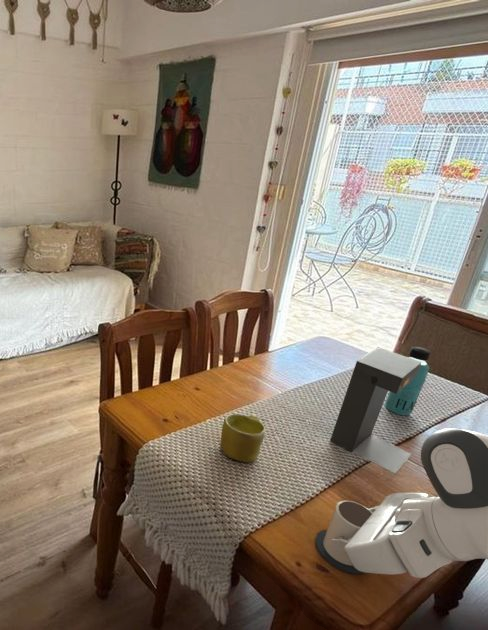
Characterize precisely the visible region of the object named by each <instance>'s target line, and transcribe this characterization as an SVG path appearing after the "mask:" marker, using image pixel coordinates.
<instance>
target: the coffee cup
mask: <svg viewBox="0 0 488 630" xmlns="http://www.w3.org/2000/svg"><path fill="white" fill-rule="evenodd" d="M369 509H370V508H368V507H366V506H364V505H363V504H361V503H359V502H356V501H353V500H340V501H338V502H337V503H336V506H335V508H334V510H333V513H332V516H331V518H330V521H329V523H328V526H327V529H326V530H327V532H326V534H325V537H324V540H323V545H324V548H325V549H326V551H327V552H328V553H329V555H330V556H332V557H333V558H334V559H335V560H337V561H339V562H341V563H343V564H346V565H351V566H353V565H352V563H351V562H350V560H349V558H348V556H347V554H346V552H345V551H344V550H336V549H335V548H334V546H333V544H332V543H331V541H332V539H333V538H334V537H335V536H344V538H345V540H349V539H350V538H352V537H353V536H354V535H355V534H356V533H357V532H358V530H359V529H360V528H361V527H362V526H363V524H364V523H365V522H366V521H367V520H368V518H369V517H370V516H371V515H372V514H373V513H372V512H371V511H370V510H369Z"/></svg>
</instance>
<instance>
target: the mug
mask: <svg viewBox="0 0 488 630" xmlns="http://www.w3.org/2000/svg"><path fill="white" fill-rule="evenodd" d="M221 427H222V428H221V433H220V435H221V436H220V448H221V451H222V453H224V455H226V456H227V457H228V458H230V459H232V460H235V461H238V462H242V463H243V462H244V463H253V462H254V461H256V460H257V459H258V457H259V455H260V451H261V447H262V444H263V441H264V439H265V436H266V427H265V425H264V424H263V422H261V421H260V417H259V416H258V414H257V415H256V414H254V413H252V414H250V415H246V414H245V415H244V414H240V413H232V414H228V415H225V417H224V419H223V423H222V426H221Z"/></svg>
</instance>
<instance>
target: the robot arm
mask: <svg viewBox="0 0 488 630" xmlns="http://www.w3.org/2000/svg"><path fill="white" fill-rule="evenodd" d="M420 460H421V461H420V462H421V464H422V467H423V469H424V472H425V473H426V476H427V478H428V480H429V482H430V484H431V485H432V487H433V489H434V491H435V493H436V494H437V496H430V495H429V494H427V493H425V492H395V493H391V494H388V495H387V496H386V497H385V498H384V499H383V501H382V502H381V503H380V504H379V505H375V506H373V507H371V508H368V509H369V510H370V511H371V512H372V513H373V514H372V515H371V516H370V517H369V518H368V520H367V521H366V522H365V523H364V524H363V526H362V527H361V528H360V529H359V530H358V532H357V533H356V534H355V535H354V536H353V537H352V538H350V539H349V540H345V538H344V536H335V537H334V538H333V539H332V541H331V543H332V544H333V546H334V548H335V549H336V550H344V551H345V552H346V554H347V556H348V558H349V560H350V562H351V563H352V565H353V566H354V567H355V568H356V569H357V570H359V571H361V572H366V573H365V574H367V573H368V574H375V575H376V574H378V575H391V576H393V575H394V576H395V575H403V574H405V573H407V572H408V573H409V574H410V576H411V577H412V578H417V579H425V578H427V577H428V576H430V575H431V574H433V573H434V572H436V571H437V570H439V569H440V568H442V567H444V566H446V565H450V564H452V562H454V561H456V562H469V561H473V560H478V559H484V560H488V434H484V433H481V432H478V431H477V432H476V431H471V430H466V429H460V428H455V427H454V428H452V427H451V428H443V429H439V430H437V431H434V432H433V433H430V434H429V436H428V437H427V438H425V440H424V442H423V444H422V446H421V449H420Z"/></svg>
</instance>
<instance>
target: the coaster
mask: <svg viewBox="0 0 488 630" xmlns="http://www.w3.org/2000/svg"><path fill="white" fill-rule="evenodd" d="M326 532H327V529H323V530H321V531H319V532H318V533H317V534H316V535H315V540H314V541H315V542H314V544H315V547H316V550H317V551H318V553H319V554H320V556H321V557H322V558H323V559H324V561H326V562H327V563H328V564H329V565H330V566H331V567H333V568H334V569H337V570H339V571H341V572H343V573H347V574H350V575H363V574H367V573H366V572H361V571H359V570H357V569H356V568H355V567H354V566H351V565H346V564H343V563H341V562H339V561H337V560H335V559H334V558H333V557H332V556H330V555H329V553H328V552H327V551H326V549H325V548H324V545H323V540H324V537H325V534H326Z"/></svg>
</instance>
